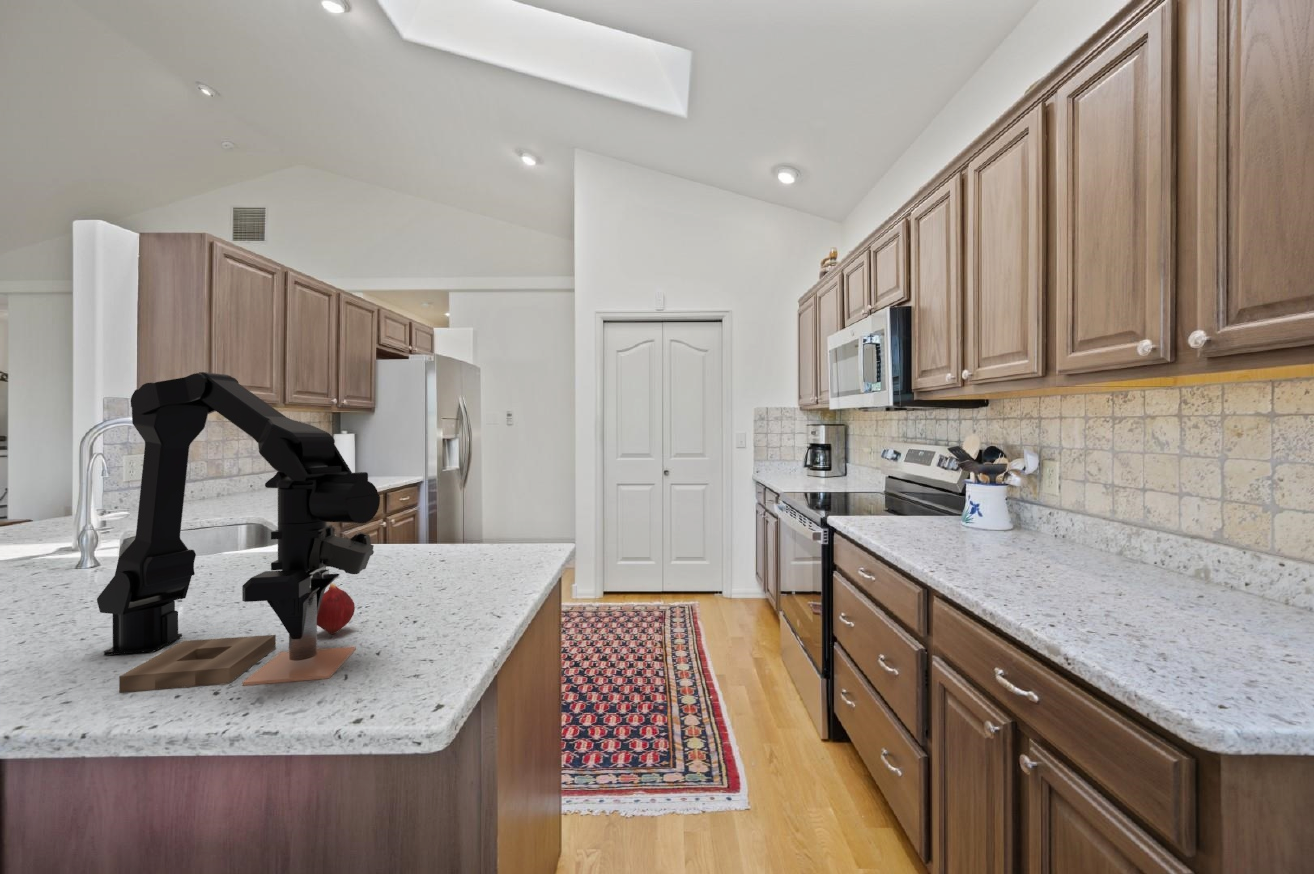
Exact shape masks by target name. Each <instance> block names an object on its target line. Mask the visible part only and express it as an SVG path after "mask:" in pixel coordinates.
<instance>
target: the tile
mask: <svg viewBox="0 0 1314 874" xmlns="http://www.w3.org/2000/svg"><path fill="white" fill-rule="evenodd" d="M356 650H357V646H344V647H332V648H321V649H320V648H317V655H315V656H314V657H312V658H309V659H305V660H300V661H292V660H290V659H289V651H280V652H279V653H277V655H275V656H273V658H271V659H270V660H269V661H267V663H264V665H262V666H261V667H260V668H259V669H257V671H255V672H253V673H252V674H251V675H250V676H249V677H247V678H246V679H245V680H244V681H242V686H252V685H264V684H265V685H266V684H276V683H290V682H300V681H301V682H302V681H311V680H325V679H326V680H327V679H330V678H331V677H332V675H333V674H335V672H337V671H338V669H339V668H340V667H341V666H342V665H343V664H344V663H345V662H346V661H347V659H348V658H349V657H350V656H351V655H352V654H353V653H354V652H355V651H356Z"/></svg>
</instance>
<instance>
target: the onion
mask: <svg viewBox="0 0 1314 874" xmlns="http://www.w3.org/2000/svg"><path fill="white" fill-rule="evenodd" d="M355 609H356V606H355V601H354V600H353V598H352V597H351V596H350V595H349V594H348V593H347V592H346V591H344V590H343V589H341V588H339V587H338V586H337V585H336V584H335V583H333V582H332V583H331V584H329V587H328V590H327V591H325V592H324V595H323V598H322V601H321V604H320V608H319V611H318V615H317V627H319V628H321V629H322V630H324V631H326V632H327V633H329V634H330V635H333V634H334V635H335V634H336V633H337V632H339V631H340V630H341V629H343V628H344V627H346V625H347V624H349V622H350V621H351V620H352V618H353V616H354V614H355Z"/></svg>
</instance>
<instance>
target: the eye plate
mask: <svg viewBox="0 0 1314 874" xmlns="http://www.w3.org/2000/svg"><path fill="white" fill-rule="evenodd" d="M276 636H277V635H276V634H268V635H267V634H266V635H255V636H252V635H251V636H250V635H249V636H238V637H225V638H224V637H222V638H209V639H206V638H205V639H193V640H182V641H181V642H179V643H177V644H175V645H172V647H170V648H168V649H166V650H164V651H163V652H161V653H159V654H158V655H155V656H153V657H152V658H150V659H148V660H146V661H145V662H143V663H141V664H139V665H137V666H135V667H134V668H131V669H130V670H127V671H126V672H125V673H122V674H121V675H119V677H118V679H119V680H118V681H119V683H118V686H119V689H118V690H119V691H118V692H119V693H129V692H139V691H140V692H142V691H144V692H145V691H154V690H155V691H156V690H165V689H177V688H178V689H181V688H189V687H191V688H192V687H201V686H203V687H205V686H214V685H225V684H226V685H228V684H230V683H232V682H233V681H235V680H236V679H238V677H240V676H241V675H242V674H244V673H245V672H246V671H247V670H249V669H250V668H252V667H253V666H254V665H255V664H257V663H258V662H260V661H261V660H262V659H264V658H265V657H266V656H267V655H269V654H270V653H271V652H273V651H274V650H275V649H276V647H277V646H276V645H277V644H276V643H277V642H276V639H277V638H276Z"/></svg>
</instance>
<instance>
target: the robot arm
mask: <svg viewBox="0 0 1314 874" xmlns="http://www.w3.org/2000/svg"><path fill="white" fill-rule="evenodd" d="M130 407H131V418H132V419H131V423H132V425H133V427H134V428H135V429H136V430H137V432H138V434H139V435H140V437H141V438H142V439H143V441H144V451H143V462H142V472H141V483H140V492H139V502H138V510H137V511H138V512H137V518H136V519H137V522H136V531H135V538H134V540H133V541H132V542H131V543H130V544H129V545H128V547H127V548H126V549H125V550H124V551H123V552H122V553H121V555H120V556H119V557H118V560H117V564H116V568H115V573H114V575H113V577H112V578H111V580H110V581H109V583H107V584H106V586H105V588H104V589H102V591H101V592H100V594H99V595H98V596H97V598H96V601H97V607H98V610H99V612H100V613H101V614H102V613H103V614H109V615H110V614H111V615H112V647H110V648H108V649H106V650H104V651H103V655H105V656H107V655H108V656H109V655H122V654H123V655H124V654H139V653H150V652H156V651H157V650H160V649H161V648H163V647H165V646H168V645H169V644H170V643H173V642H175V641H177V640H178V639H180V638H182V636H183V633H181V632H180V633H179V611H178V610H176V601H178V600H185V599H186V598H187V593H188V591H189V587H190V583H191V580H192V577H193V576H195V575H196V574H195V560H196V556H197V555H196V552H195V550H194V549H189V548H188V547H187V546H186V544H185V543H184V541H183V540H182V539H181V530H182V521H183V520H182V519H183V514H184V513H183V511H184V502H185V495H186V494H185V492H186V482H187V473H188V472H187V471H188V465H189V464H188V463H189V455H190V453H189V452H190V447H191V444H192V443H193V442H194V441H195V440H196V438H197V437H198V436H199V435H200V434H201V433H202V431H204V429H205V428H206V424H207V423H206V422H207V420H208V415H210V414H213V413H215V412H217V413H218V414H219V415H220V416H222V417H224V419H226V420H228V422H230V423H232V424H233V425H234V426H236V427H237V428H239V429H240V430H241V431H243V432H244V433H246V435H248V436H250V437H251V438H252V439H253V440H254V441H255V442H256V443H257V447H258V454H260V455H261V457H262V458H263V459H264V461H266V462H267V463H268V464H269V465H270V467H271V468H272V469H274V470H275V471H276V473H275V475H274V476H273V477H271V478H270V479H268V480H267V481H266V482H265V483H264V487H265V489H277V529H276V530H272V531H270V540H277V560H274V561H272V562H270V570H265V571H262V572H260V573H257V574H256V575H254V576H252V577H250V578H248V580H247V581H246V582H244V584H243V585H242V586H241V587H242V590H241V591H242V592H241V593H242V594H241V597H242V602H245V603H248V602H267V603H268V605H269V606H270V607H271V609H272V610H273V612H274V613H275V614H276V616H277V618H278V619H279V621H280V622H281V623H282V626H283V627H284V628H285V630H286V632H287V633H288V636H289V635H290V636H291V638H292V639H301V638H302V636H303V631H304V625H305V619H306V612H307V605H308V600H309V598H310V597H311V596H312V595H313V594H314V593H315V592H316V591H317V615H318V611H319V608H320V604H321V601H322V598H323V595H324V593H325V592H326V589H327V588H328V586H330V584H331V583H333V582H334V581H335V580H337V578H338V577H340V573H330V569H328V567H329V568H330V567H331V568H334V569H338V570H341V571H344V572H345V573H346V574H349V575H358V574H360V573H361V571H363V570H366V568H367V567H368V563H369V560H370V558H371V556H373V554H374V553H375V551H374V544H372V542H371V535H370V534H367V533H364V532H362V531H361V532H358V533H356V534H355V535H353V537H351V538H350V539H349V537H347V536H346V537H345V536H344V537H341V536H340V537H339V536H338V535H336V533H335V532H336V531H335V530H336V529H335V527H333V524H328V523H341V524H342V523H343V524H344V523H345V524H347V523H348V524H365V523H369V522H370V521H371V520H373V519H374V517H375V516H376V514H377V513H378V510H379V509H380V503H381V496H380V494H379V493H378V492H379V491H378V490H377V487H376V485H374V484H373V483H372V482H371V481H369V473H368V472H366V471H360V472H359V471H358V472H352V470H351V468H350V467H349V465H348V463H347V462H346V461H345V459H344V458H343V455H342V454H341V453H340V451H339V449H338V448H337V446H336V444H335V443H336V440H335V438H334V436H332V435H331V433H329V432H328V431H326V430H324V429H322V428H319V427H317V426H314V425H312V424H308V423H305V422H302V421H297V420H295V419H291V418H290V417H287V416H286V415H284V414H283V413H282V412H280V411H278V410H277V409H276V408H274V407H273V406H272V405H269V404H268V403H267V402H266V401H264V400H263V399H261V398H260V397H259V396H257V395H256V394H254V393H253V392H251V391H250V390H249V389H247V388H246V387H245V386H243V385H242V384H240V383H239V381H238V379H237V378H235V377H233V376H231V375H229V374H222V373H216V372H215V373H214V372H203V371H200V372H196V373H192V374H190V375H187V376H183V377H179V378H172V379H168V380H161V381H156V382H145V383H144V384H142V385H141V386H140V387H139V388H138V389H135V390H134V391H133V392H132V395H131V397H130Z"/></svg>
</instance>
